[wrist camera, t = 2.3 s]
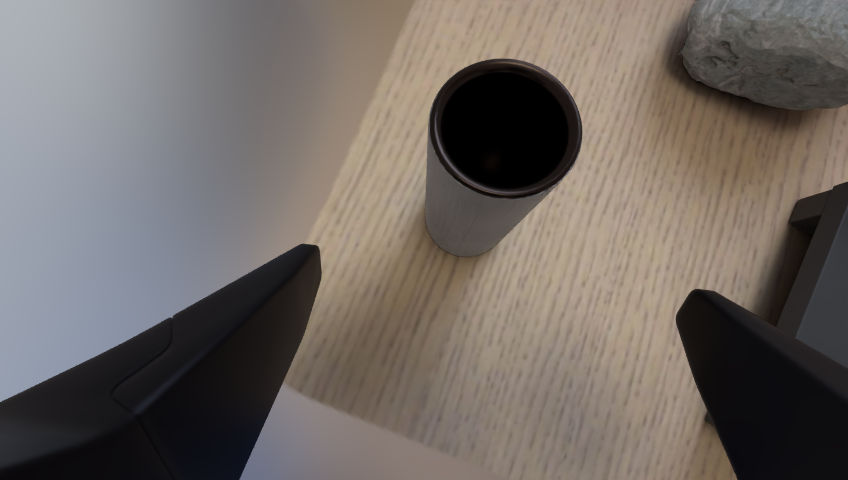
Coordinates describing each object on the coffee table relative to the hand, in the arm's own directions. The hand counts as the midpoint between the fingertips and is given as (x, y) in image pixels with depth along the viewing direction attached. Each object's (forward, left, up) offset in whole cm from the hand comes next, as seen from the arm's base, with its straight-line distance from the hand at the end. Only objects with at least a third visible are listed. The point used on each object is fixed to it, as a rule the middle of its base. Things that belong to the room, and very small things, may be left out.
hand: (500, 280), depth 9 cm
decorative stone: (+24, -9, -11) cm, 28 cm away
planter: (+4, +2, -11) cm, 12 cm away
